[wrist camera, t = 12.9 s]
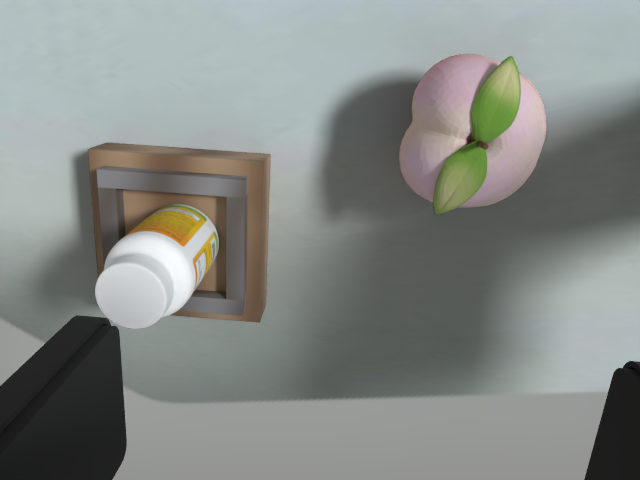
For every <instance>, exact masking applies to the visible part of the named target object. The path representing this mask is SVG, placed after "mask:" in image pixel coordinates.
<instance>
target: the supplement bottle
mask: <svg viewBox="0 0 640 480" xmlns="http://www.w3.org/2000/svg"><path fill="white" fill-rule="evenodd" d="M218 249H219V238H218V234H217V231H216V228H215V226H214V224H213V223H212V221H211V220H210V219H209V218H208V217H207V216H206V215H205V214H204V213H202V212H201V211H199V210H198V209H196V208H194V207H191V206H188V205H183V204H173V205H168V206H165V207H162V208H160V209H159V210H157V211H155V212H154V213H153V214H151V215H150V216H149V217H148V218H147V219H145V220H144V221H143V222H142V223H140V224H139V225H138V226H137V227H135V228H134V229H133V230H132V231H131V232H129V233H128V234H127V235H126V236H124V237H123V238H122V239H121V240H119V241H118V242H117V243H116V244H115V245H114V247H113V248H112V249H111V251H110V252H109V254H108V256H107V258H106V261H105V265H104V271H103V272H102V273H101V274H100V276H99V278H98V280H97V282H96V286H95V297H96V300H97V303H98V306H99V308H100V309H101V311H102V312H103V313H104V315H105V316H106V317H107V318H108V319H110V320H111V321H112V322H114V323H116V324H117V325H120V326H122V327H125V328H130V329H141V328H146V327H149V326H151V325H153V324H154V323H156V322H157V321H158V320H159V319H160V318H161V317H165V316H168V315H171V314H173V313H175V312H176V311H178V310H179V309H180V308H182V307H183V306H184V304H185V303H186V302H187V301H188V300H189V298H190V297H191V295H192V294H193V292H194V291H195V289H196V288H197V286H198V285H199V283H200V282H201V280H202V279H203V277H204V276H205V274H206V273H207V271H208V270H209V268H210V267H211V265H212V264H213V262H214V260H215V258H216V256H217V253H218Z"/></svg>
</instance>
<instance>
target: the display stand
mask: <svg viewBox="0 0 640 480" xmlns="http://www.w3.org/2000/svg"><path fill="white" fill-rule="evenodd" d="M88 155H89V168H90V181H91V194H92V206H93V219H94V232H95V245H96V257H97V270H98V278H99V276H100V274H101V273H102V272H103V271H104V265H105V261H106V258H107V256H108V254H109V252H110V251H111V249H112V248H113V247H114V245H115V244H116V243H117V242H118V241H119V240H121V239H122V238H123V237H124V236H126V235H127V234H128V233H129V232H131V231H132V230H133V229H134V228H135V227H137V226H138V225H139V224H140V223H142V222H143V221H144V220H145V219H147V218H148V217H149V216H150V215H151V214H153V213H154V212H155V211H157V210H159V209H160V208H162V207H165V206H168V205H173V204H183V205H188V206H191V207H194V208H196V209H198V210H199V211H201V212H202V213H204V214H205V215H206V216H207V217H208V218H209V219H210V220H211V221H212V223H213V224H214V226H215V228H216V231H217V234H218V238H219V249H218V253H217V256H216V258H215V260H214V262H213V264H212V265H211V267H210V268H209V270H208V271H207V273H206V274H205V276H204V277H203V279H202V280H201V282H200V283H199V285H198V286H197V288H196V289H195V291H194V292H193V294H192V295H191V297H190V298H189V300H188V301H187V302H186V303H185V304H184V306H183V307H182V308H180V309H179V310H178V311H176V312H175V313H173V314H171V315H176V316H188V317H200V318H212V319H224V320H237V321H249V322H260V320H261V317H262V314H263V311H264V309H265V306H266V284H267V251H268V219H269V186H270V154H261V153H246V152H232V151H218V150H204V149H190V148H176V147H162V146H148V145H134V144H119V143H104V144H102V145H99V146H96V147H94V148H91V149H88Z"/></svg>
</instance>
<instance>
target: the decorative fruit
mask: <svg viewBox="0 0 640 480" xmlns="http://www.w3.org/2000/svg"><path fill="white" fill-rule="evenodd" d="M412 115H413V119H412V122H411V124H410V126H409V128H408V129H407V130H406V132H405V135H404V137H403V139H402V142H401V146H400V152H399V163H400V169H401V172H402V175H403V178H404V180H405V181H406V183H407V184H408V186H409V187H410V188H411V189H412V190H413V191H414V192H415V193H416V194H418V195H419V196H421V197H422V198H424V199H426V200H428V201H430V202H433V208H434V213H435V215H438V214H442V213H446V212H448V211H451V210H453V209H455V208H457V207H459V208H469V207H482V206H488V205H492V204H494V203H497V202H499V201H502V200H504V199H505V198H507V197H509V196H510V195H512V194H513V193H514V192H515V191H517V190H518V189H519V188H520V187H521V186H522V185H523V184H524V183H525V182H526V180H527V179H528V178H529V176H530V175H531V173H532V172H533V170H534V168H535V166H536V164H537V161H538V159H539V156H540V153H541V150H542V147H543V144H544V141H545V136H546V127H547V125H546V115H545V109H544V105H543V102H542V99H541V97H540V95H539V93H538V91H537V90H536V88H535V87H534V85H533V84H532V83H531V82H530V81H529V80H528V79H527V78H526V77H525V76H523V75H522V74H521V73H519V72H518V68H517V66H516V63H515V61H514V58H513V57H512V56H510V57H508V58H507V59H505V60H504V61H503V62H502V63H501V62H498V61H496V60H493V59H491V58H488V57H485V56H481V55H476V54H460V55H455V56H451V57H448V58H446V59H444V60H442V61H440V62H438V63H437V64H435V65H434V66H433V67H432V68H431V69H429V70H428V71H427V72H426V74H425V75H424V76H423V78H422V79H421V80H420V82H419V84H418V86H417V87H416V90H415V92H414V95H413V100H412Z"/></svg>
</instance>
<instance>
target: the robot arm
mask: <svg viewBox="0 0 640 480" xmlns="http://www.w3.org/2000/svg"><path fill="white" fill-rule="evenodd" d="M125 451H126V426H125V411H124V396H123V381H122V366H121V351H120V337H119V330H118V328H117V327H116V326H111V324H110V322H109V320H108V319H107V318H101V317H89V316H75V317H73V318H72V319H71V320H70V321H69V322H68V323H67V324H66V325H65V326H63V327H62V328H61V329H60V330H59V331H58V332H57V333H56V334H55V335H54V336H53V337H52V338H51V339H50V340H49V341H48V342H47V343H45V344H44V346H42V347H41V348H40V349H39V350H38V351H37V352H36V353H35V354H34V355H33V356H32V357H31V358H30V359H29V360H28V361H26V362H25V364H23V365H22V366H21V367H20V368H19V369H18V370H17V371H16V372H15V373H14V374H13V375H12V376H11V377H10V378H9V379H7V380H6V381H5V382H4V383H3V384H2V385H1V386H0V480H112V479H113V477H114V476H115V474H116V472H117V470H118V468H119V467H120V465H121V463H122V461H123V459H124V456H125ZM585 480H640V362H634V361H629V362H627V363H626V364H625V365H624V366H623V368H618V369H616V371H615V372H614V374H613V377H612V381H611V384H610V388H609V392H608V396H607V399H606V403H605V406H604V410H603V414H602V417H601V421H600V425H599V428H598V432H597V436H596V439H595V443H594V447H593V450H592V454H591V458H590V462H589V465H588V469H587V473H586V476H585Z"/></svg>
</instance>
